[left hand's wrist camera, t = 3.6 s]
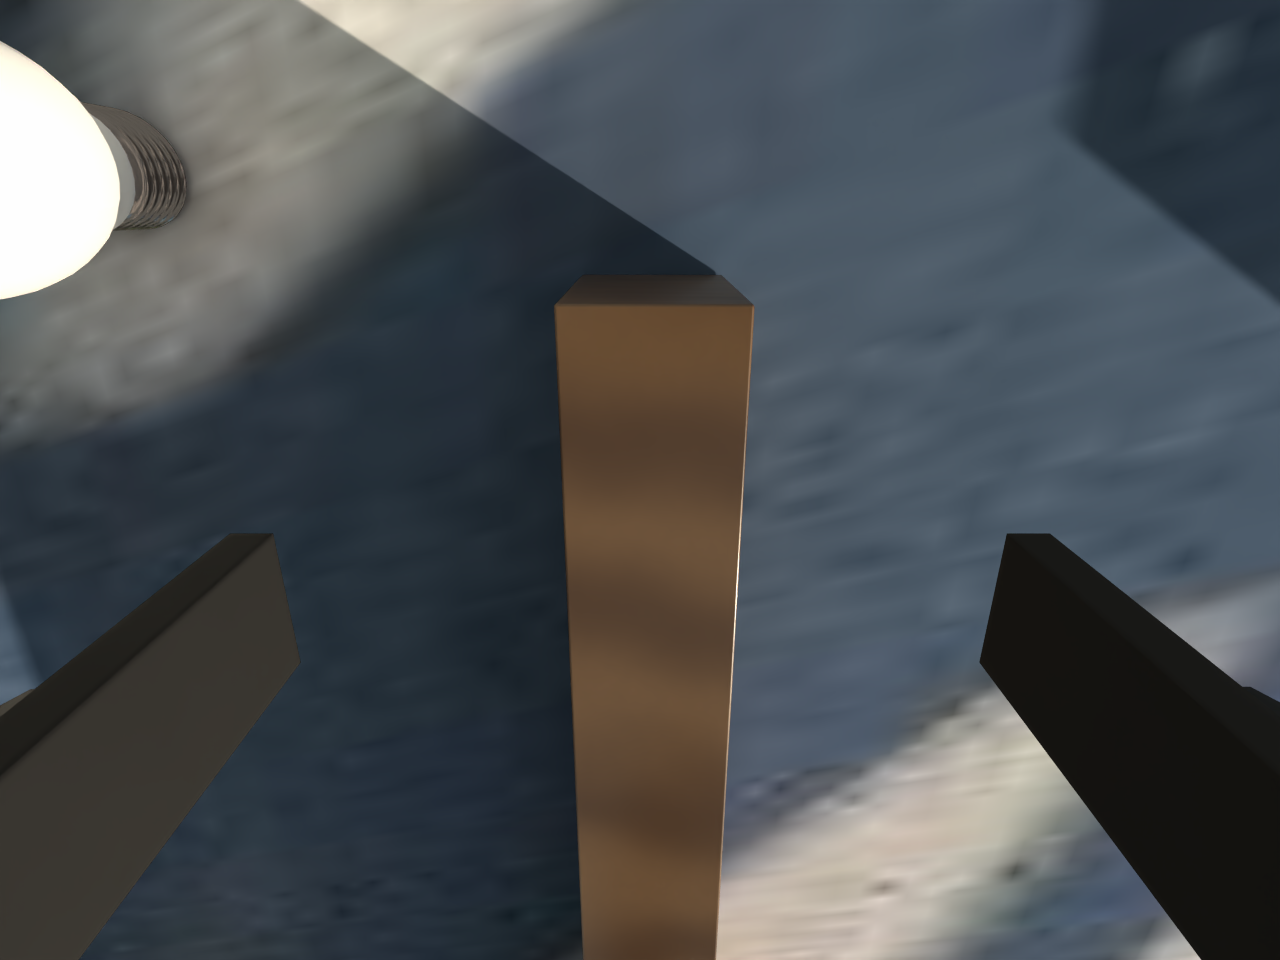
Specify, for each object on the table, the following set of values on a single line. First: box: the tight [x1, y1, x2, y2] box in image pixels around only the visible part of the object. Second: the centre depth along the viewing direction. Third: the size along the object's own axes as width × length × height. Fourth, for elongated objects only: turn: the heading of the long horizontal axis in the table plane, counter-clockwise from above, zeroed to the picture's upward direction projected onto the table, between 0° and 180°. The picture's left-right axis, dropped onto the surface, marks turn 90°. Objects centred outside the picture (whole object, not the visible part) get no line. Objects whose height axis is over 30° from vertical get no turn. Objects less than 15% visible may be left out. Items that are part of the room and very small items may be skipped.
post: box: [554, 275, 754, 960], centre depth 31 cm, size 57×5×8 cm, turn 0°
